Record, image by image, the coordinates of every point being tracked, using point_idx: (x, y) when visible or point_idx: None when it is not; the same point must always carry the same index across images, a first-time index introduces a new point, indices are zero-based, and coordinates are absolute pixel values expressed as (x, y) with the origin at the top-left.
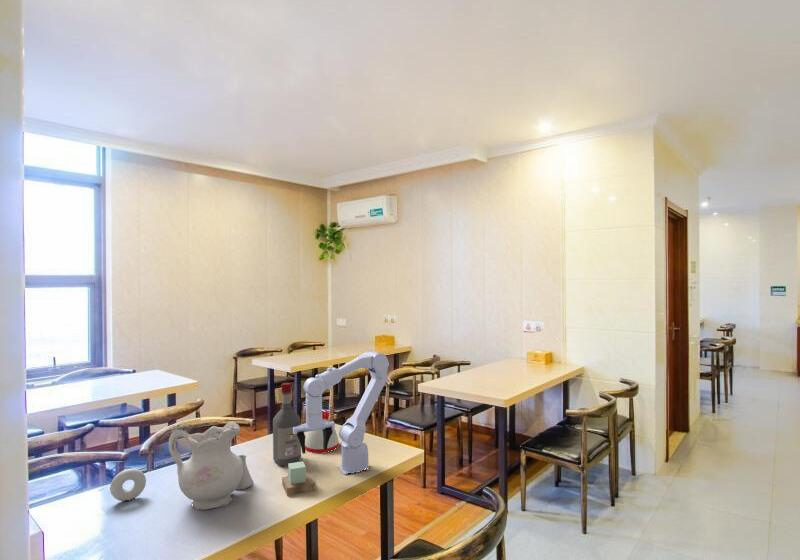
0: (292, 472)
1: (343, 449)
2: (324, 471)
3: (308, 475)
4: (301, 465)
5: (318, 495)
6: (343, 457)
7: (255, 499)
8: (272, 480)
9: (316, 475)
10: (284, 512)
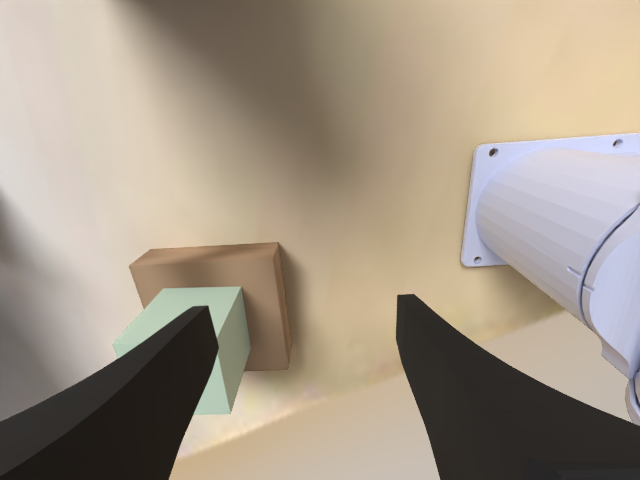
0: None
1: (565, 293)
2: (379, 174)
3: (269, 293)
4: (204, 392)
5: (299, 382)
6: (521, 259)
7: (57, 335)
8: (90, 182)
9: (325, 209)
10: None
